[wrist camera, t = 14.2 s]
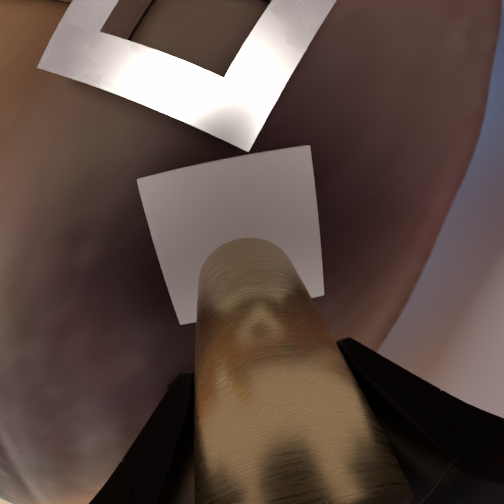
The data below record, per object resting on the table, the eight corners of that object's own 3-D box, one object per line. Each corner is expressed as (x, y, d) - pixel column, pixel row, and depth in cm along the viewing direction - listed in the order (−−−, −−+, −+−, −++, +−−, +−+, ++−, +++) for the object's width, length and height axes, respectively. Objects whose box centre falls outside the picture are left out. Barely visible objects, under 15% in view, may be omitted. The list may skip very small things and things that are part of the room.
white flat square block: (322, 291, 19) (324, 295, 19) (180, 321, 19) (180, 324, 18) (307, 144, 16) (310, 145, 15) (138, 178, 15) (136, 179, 15)
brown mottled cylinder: (299, 312, 14) (390, 524, 5) (211, 331, 14) (227, 562, 4) (289, 228, 12) (440, 459, 3) (187, 249, 12) (160, 525, 3)
